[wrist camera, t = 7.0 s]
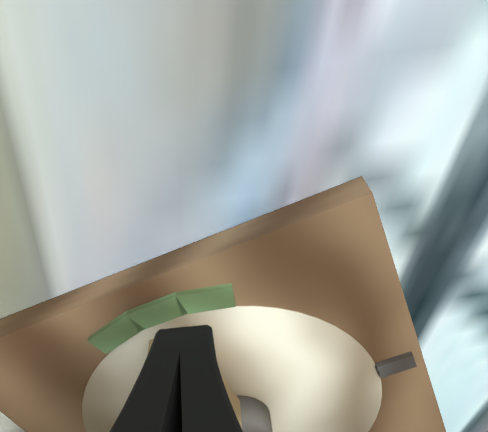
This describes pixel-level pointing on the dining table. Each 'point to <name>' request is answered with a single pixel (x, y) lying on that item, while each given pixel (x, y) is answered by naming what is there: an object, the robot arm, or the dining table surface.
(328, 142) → the dining table surface
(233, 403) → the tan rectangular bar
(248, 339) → the board
